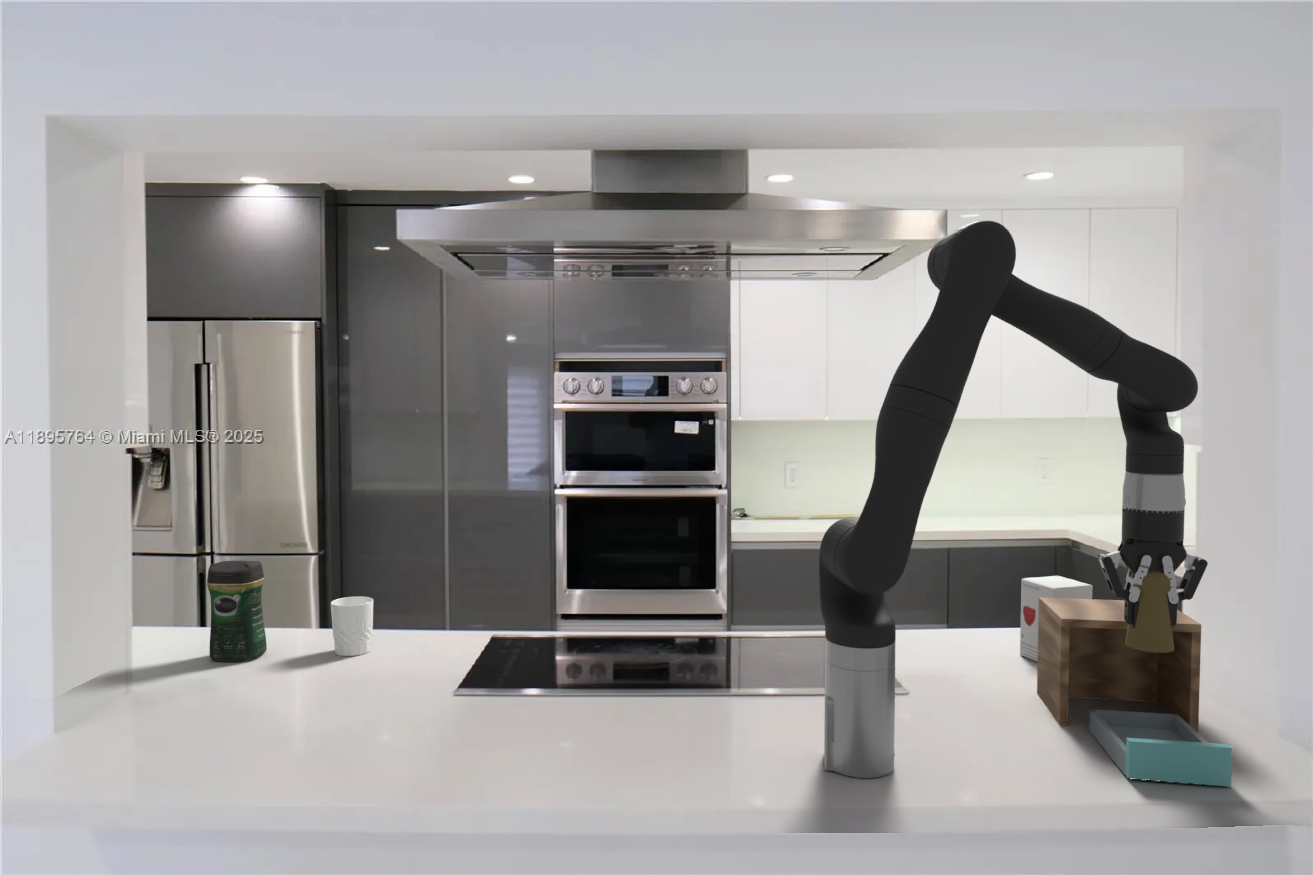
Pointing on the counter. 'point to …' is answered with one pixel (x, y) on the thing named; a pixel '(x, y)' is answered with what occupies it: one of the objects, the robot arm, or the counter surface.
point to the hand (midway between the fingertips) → (1149, 627)
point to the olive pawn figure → (1152, 616)
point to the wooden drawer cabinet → (1113, 659)
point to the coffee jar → (236, 610)
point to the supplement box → (1030, 605)
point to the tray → (1160, 748)
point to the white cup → (352, 625)
